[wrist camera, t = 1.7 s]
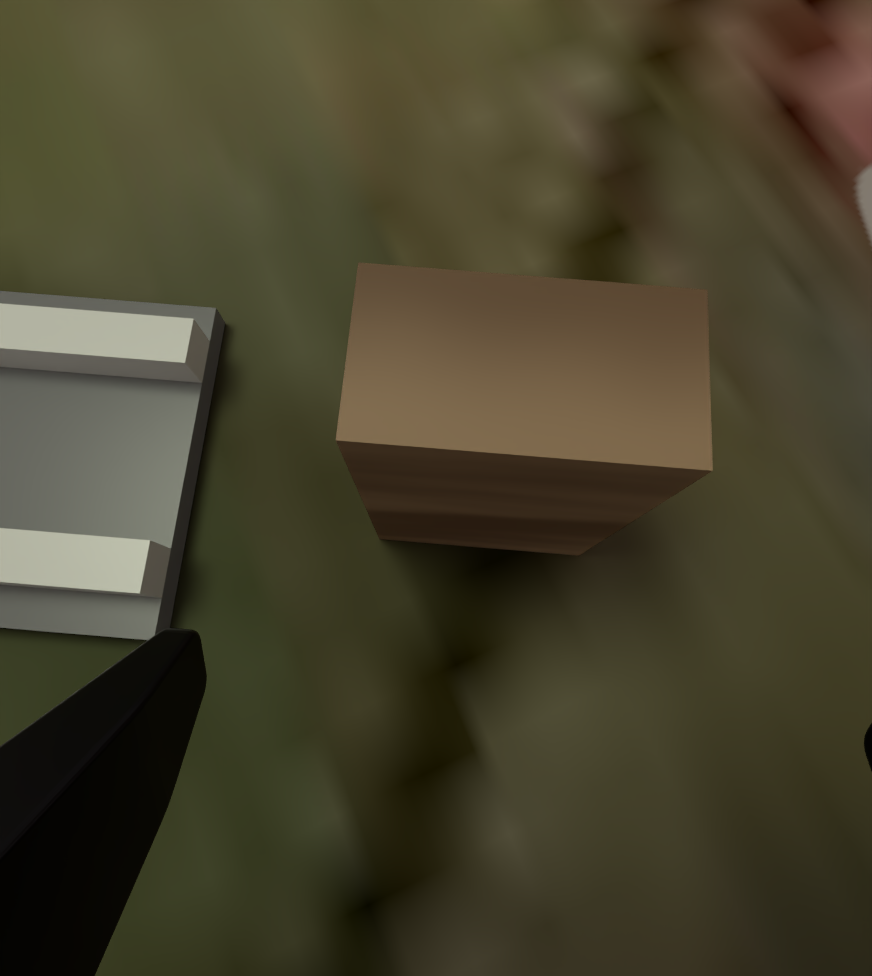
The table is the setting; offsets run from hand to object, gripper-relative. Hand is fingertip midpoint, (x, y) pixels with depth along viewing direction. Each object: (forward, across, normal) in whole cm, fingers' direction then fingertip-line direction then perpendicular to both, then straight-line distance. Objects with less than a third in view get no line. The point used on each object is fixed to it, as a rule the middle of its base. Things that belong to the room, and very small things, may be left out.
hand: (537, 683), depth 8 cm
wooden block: (+12, 0, +4) cm, 13 cm away
